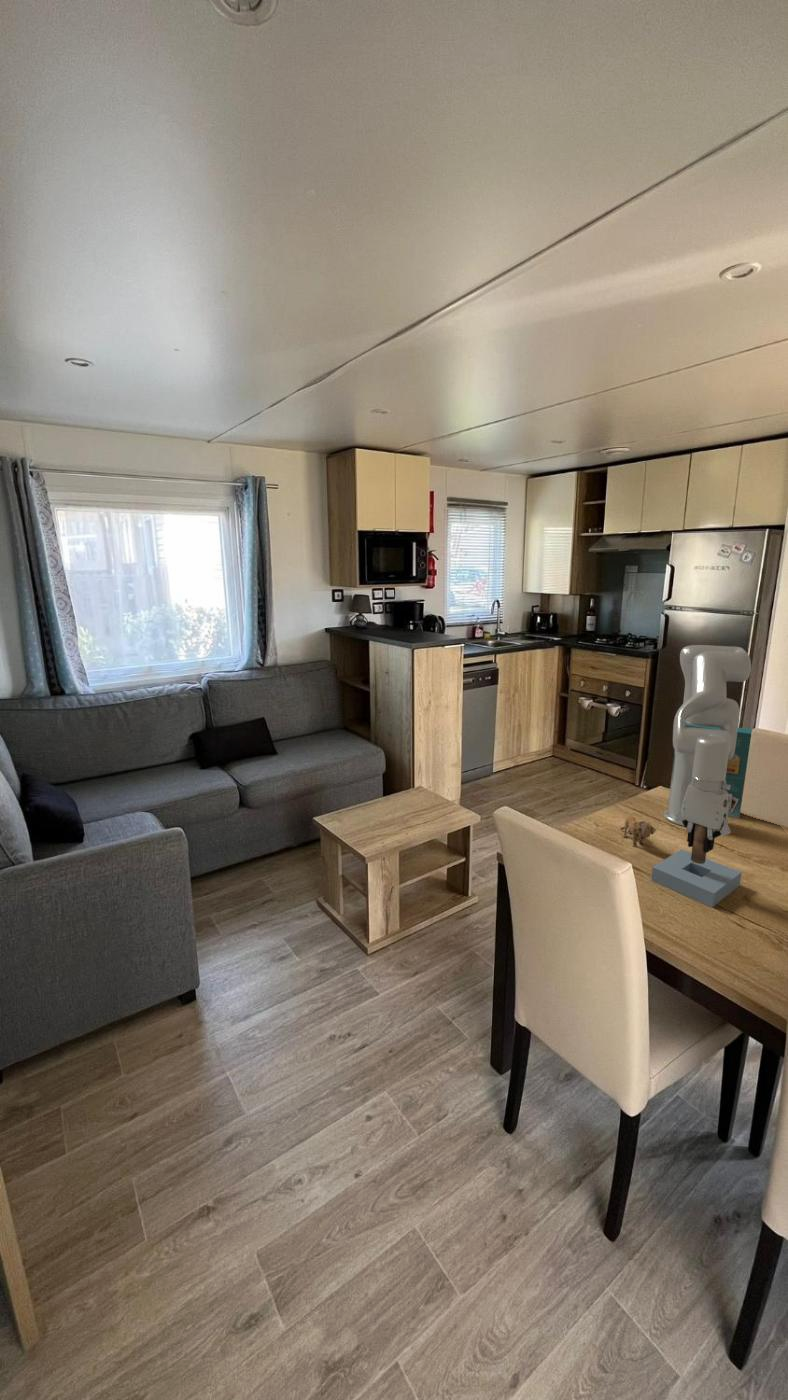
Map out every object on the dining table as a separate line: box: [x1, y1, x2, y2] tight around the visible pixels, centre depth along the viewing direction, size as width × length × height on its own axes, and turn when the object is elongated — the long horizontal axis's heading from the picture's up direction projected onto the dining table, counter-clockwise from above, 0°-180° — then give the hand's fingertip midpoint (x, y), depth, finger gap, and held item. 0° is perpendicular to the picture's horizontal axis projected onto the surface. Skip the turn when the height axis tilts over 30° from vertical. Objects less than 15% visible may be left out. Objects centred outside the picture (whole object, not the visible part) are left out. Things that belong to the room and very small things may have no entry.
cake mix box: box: [668, 722, 753, 819], centre depth 195 cm, size 22×6×30 cm, turn 57°
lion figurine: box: [619, 815, 657, 848], centre depth 175 cm, size 15×5×9 cm, turn 11°
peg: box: [690, 824, 707, 864], centre depth 149 cm, size 3×3×12 cm
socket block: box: [650, 849, 742, 908], centre depth 152 cm, size 16×16×4 cm
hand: (699, 847), depth 150 cm, fingers closed on peg, 3 cm apart
